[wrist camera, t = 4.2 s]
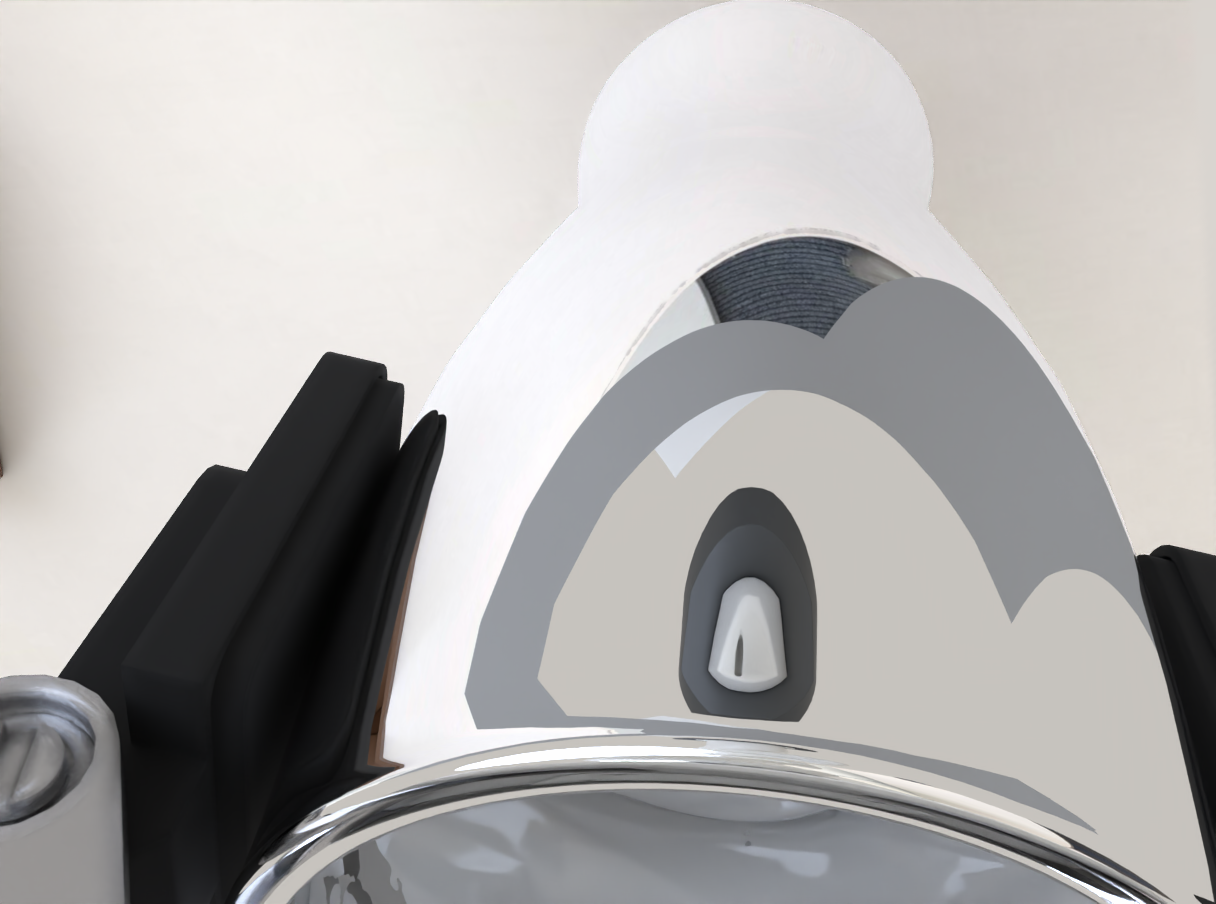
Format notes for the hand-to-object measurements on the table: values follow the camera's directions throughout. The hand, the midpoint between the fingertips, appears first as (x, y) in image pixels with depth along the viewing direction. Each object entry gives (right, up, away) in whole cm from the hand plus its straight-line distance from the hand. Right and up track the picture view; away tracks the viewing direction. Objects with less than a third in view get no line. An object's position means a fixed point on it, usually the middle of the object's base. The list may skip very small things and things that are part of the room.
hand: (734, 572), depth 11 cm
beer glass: (+1, +6, +8) cm, 10 cm away
